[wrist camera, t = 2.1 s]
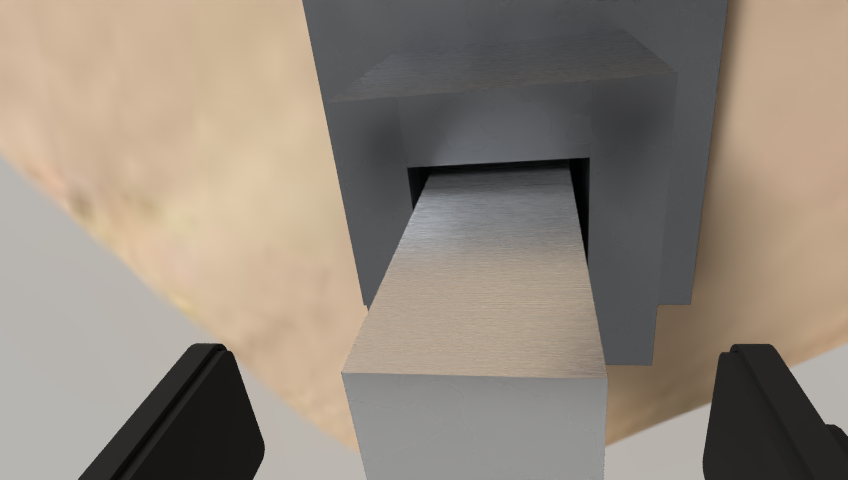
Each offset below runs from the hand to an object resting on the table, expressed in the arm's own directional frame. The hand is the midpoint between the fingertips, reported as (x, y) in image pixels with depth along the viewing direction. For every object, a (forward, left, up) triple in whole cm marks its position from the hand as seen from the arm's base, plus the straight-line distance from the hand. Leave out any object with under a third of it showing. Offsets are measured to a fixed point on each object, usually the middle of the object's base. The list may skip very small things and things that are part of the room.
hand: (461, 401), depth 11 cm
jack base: (0, 0, -16) cm, 16 cm away
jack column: (0, 0, -14) cm, 14 cm away
